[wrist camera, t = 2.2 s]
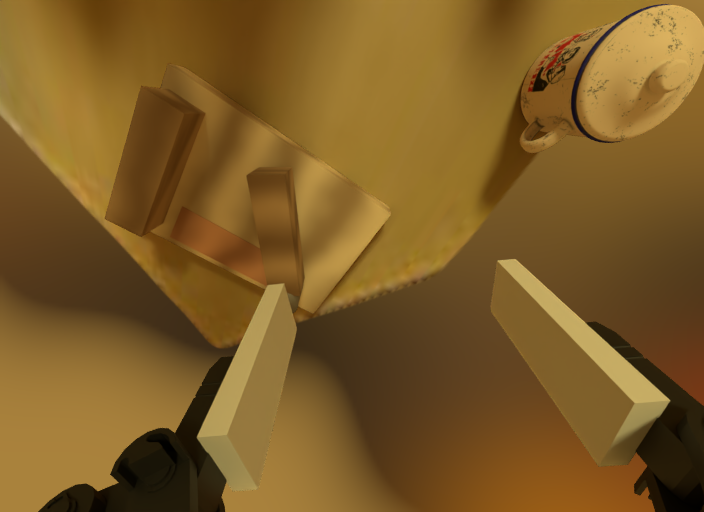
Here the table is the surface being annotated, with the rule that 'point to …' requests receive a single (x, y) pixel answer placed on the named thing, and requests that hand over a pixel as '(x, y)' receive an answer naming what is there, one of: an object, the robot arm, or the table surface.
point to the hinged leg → (278, 228)
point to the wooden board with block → (232, 186)
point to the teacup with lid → (613, 78)
